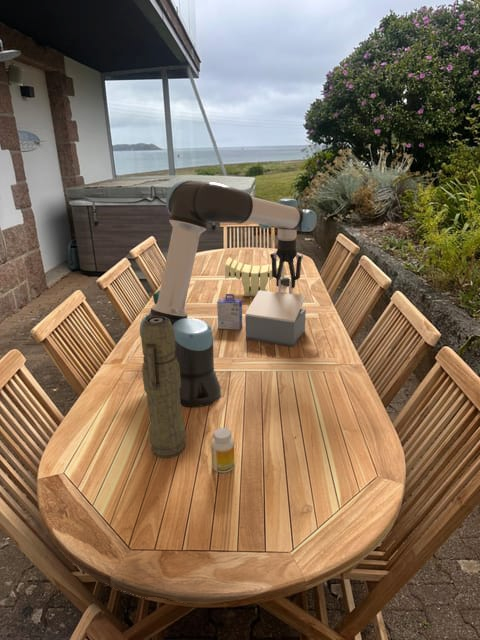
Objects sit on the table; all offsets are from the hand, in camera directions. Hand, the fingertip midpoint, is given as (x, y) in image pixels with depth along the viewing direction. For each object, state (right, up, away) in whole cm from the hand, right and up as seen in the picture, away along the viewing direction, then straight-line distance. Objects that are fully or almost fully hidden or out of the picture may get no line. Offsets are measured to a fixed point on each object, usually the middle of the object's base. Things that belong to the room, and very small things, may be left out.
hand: (285, 294), depth 177 cm
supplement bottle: (-23, -46, -76) cm, 92 cm away
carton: (-4, -17, -5) cm, 18 cm away
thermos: (-37, -44, -69) cm, 90 cm away
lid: (-3, -3, -7) cm, 8 cm away
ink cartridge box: (-23, -14, +4) cm, 28 cm away
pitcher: (-46, -21, -13) cm, 52 cm away
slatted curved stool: (-11, +3, +47) cm, 48 cm away
